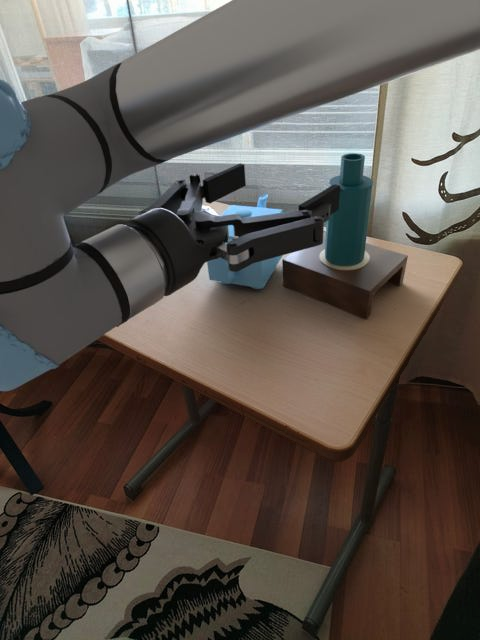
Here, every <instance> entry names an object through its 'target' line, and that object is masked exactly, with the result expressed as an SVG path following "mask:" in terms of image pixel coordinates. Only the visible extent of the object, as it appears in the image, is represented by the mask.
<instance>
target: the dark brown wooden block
mask: <svg viewBox="0 0 480 640" xmlns="http://www.w3.org/2000/svg"><path fill="white" fill-rule="evenodd" d="M325 239H326V230H324V231H323V243H322V244H321V245H318V246H315V247H311V248H307V249H304V250H300V251H296V252H293V253H289V254H287V255H286V257H284V258H282V263H281V264H282V287H285V288H287V289H289V290H292V291H293V292H297V293H299V294H302V295H304V296H307V297H309V298H312V299H315V300H316V301H319V302H321V303H323V304H326V305H329V306H332V307H334V308H336V309H338V310H341V311H344V312H346V313H348V314H351V315H353V316H356V317H358V318H361V319H363V320H368V318H370V316H371V313H372V306H373V300H374V294H375V293H377V291H378V290H380V289H381V287H383V286H384V285H385V284H386V283H388V284H391V285H393V286H396V287H400V286H402V285H403V283H404V277H405V274H406V268H407V264H408V263H407V262H408V257H409V256H408V255H407V254H404V253H401V252H397V251H393V250H390V249H387V248H383V247H380V246H377V245H374V244H370V243H367V242H366V246H365V254H364V259H363V261H362V262H361V263H359V264H357V265H353V266H338V265H334V264H331V263H330V262H328V261H327V260H326V258H325Z"/></svg>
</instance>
